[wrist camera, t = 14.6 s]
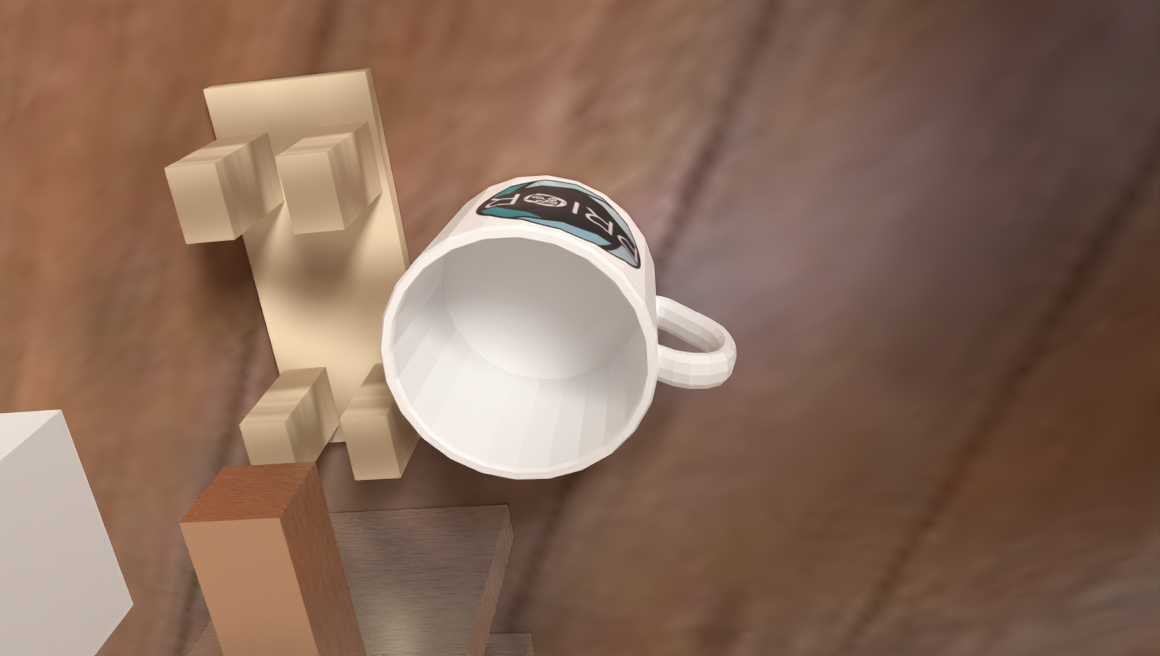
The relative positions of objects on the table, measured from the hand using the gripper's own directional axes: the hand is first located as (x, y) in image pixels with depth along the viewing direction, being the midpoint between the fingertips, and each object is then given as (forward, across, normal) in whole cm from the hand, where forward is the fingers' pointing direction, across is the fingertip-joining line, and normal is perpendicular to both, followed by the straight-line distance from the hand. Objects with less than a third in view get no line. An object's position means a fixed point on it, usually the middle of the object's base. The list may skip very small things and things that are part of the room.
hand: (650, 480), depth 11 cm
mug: (+32, -5, -10) cm, 34 cm away
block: (+20, -16, -24) cm, 35 cm away
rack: (+32, -16, -8) cm, 36 cm away
